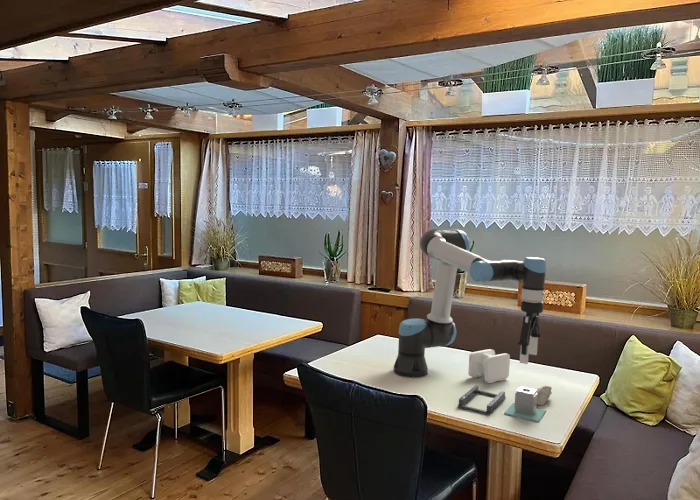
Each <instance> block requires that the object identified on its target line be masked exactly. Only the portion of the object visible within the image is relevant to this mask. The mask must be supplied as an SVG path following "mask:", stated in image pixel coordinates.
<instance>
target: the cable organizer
mask: <svg viewBox="0 0 700 500" xmlns="http://www.w3.org/2000/svg"><path fill="white" fill-rule="evenodd" d="M495 351H496V350H494V349H491V348H489V349H483V350H478V351H472V352H471V353H470V354H469V357H468V376H469V377H470V378H474V379H476V378H481V377H482V376H484V381H485V382H486V383H488V384H494V383H496V382H498V381H499V382H502V381H505V380H506V379H507V378H509V376H510V364H511V363H510V360H511V355H510V354H509V353H505V352H504V353H500V354H499V353H498V354H496V352H495Z"/></svg>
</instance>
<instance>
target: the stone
mask: <svg viewBox="0 0 700 500" xmlns="http://www.w3.org/2000/svg"><path fill="white" fill-rule="evenodd" d="M536 390H537V393H538V394H537V406H544V405H546V404H545V403H546V402H547V401H548V400H549V398H550V396H551V395H552V393H553V392H552V386H549V385H542V386H541V387H539V388H536Z"/></svg>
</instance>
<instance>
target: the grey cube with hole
mask: <svg viewBox="0 0 700 500" xmlns="http://www.w3.org/2000/svg"><path fill="white" fill-rule="evenodd" d="M536 389H537V388H536ZM536 389H535V388H530V387H525V386H522V385H521V386H519V387H518V388H517V389H516V390H515V394H514V403H515V405H514V409H515V412H516V413H520V414H524V415H529V416H532V415H533V414H534V412H535V411H536V409H537V407H538V405H537V394H538V393H537V390H536Z"/></svg>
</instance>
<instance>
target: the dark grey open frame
mask: <svg viewBox="0 0 700 500" xmlns="http://www.w3.org/2000/svg"><path fill="white" fill-rule="evenodd" d="M479 388H480V386H479V385H474V386H473V387H471V388H470V389H469V390H468V391H467V392H465V393H464V394H463V395H462V396H461V397H460V398H459V399H458V405H457V409H460V410H466V411H469V412H474V413H477V414H481V415H485V416H486V415H487V416H491V415H492V413H494V411H495V410H496V409H498V407H499V406H501V404H502V403H503V402H505V400H506V399H507V398H506V391H504V390H501V391H500V392H499V393H493V392H489V391H483V390H479ZM478 395H483V396H489V397H493V399H492V400H490V402H488V403H487V404H486V409H485V410H484V409H481V408H476V407H472V406H467V404H469V403H470V402H471V401H472V400H473V399H474V398H475V397H476V396H478Z"/></svg>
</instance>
